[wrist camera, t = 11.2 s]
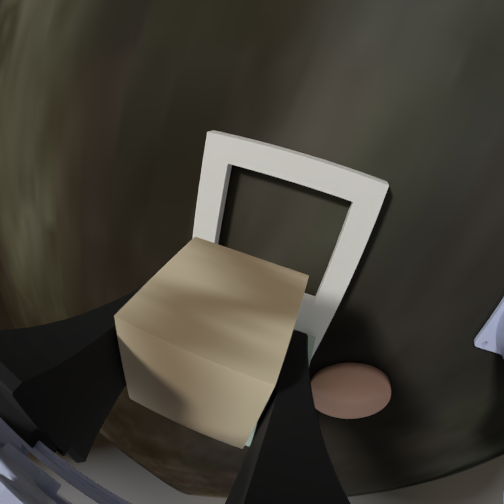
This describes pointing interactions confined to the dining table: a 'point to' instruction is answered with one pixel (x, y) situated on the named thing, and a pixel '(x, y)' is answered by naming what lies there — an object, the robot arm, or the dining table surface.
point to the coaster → (350, 390)
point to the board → (307, 174)
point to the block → (209, 338)
